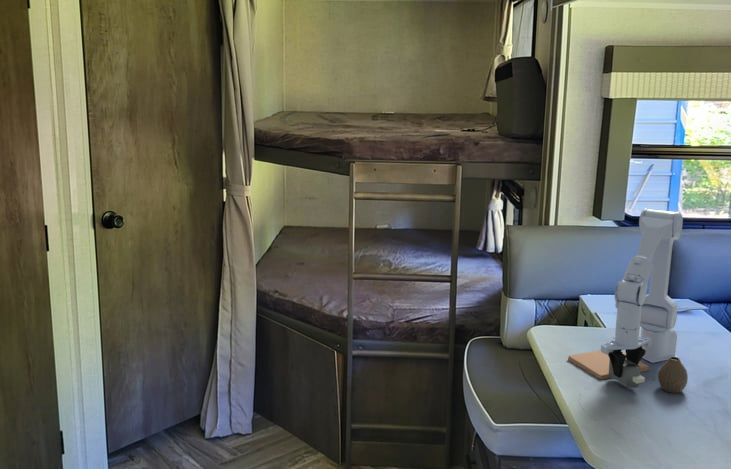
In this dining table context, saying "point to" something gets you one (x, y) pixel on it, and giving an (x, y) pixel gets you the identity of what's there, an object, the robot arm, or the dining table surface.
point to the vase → (672, 375)
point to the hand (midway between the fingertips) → (623, 374)
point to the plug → (628, 374)
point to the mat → (597, 363)
